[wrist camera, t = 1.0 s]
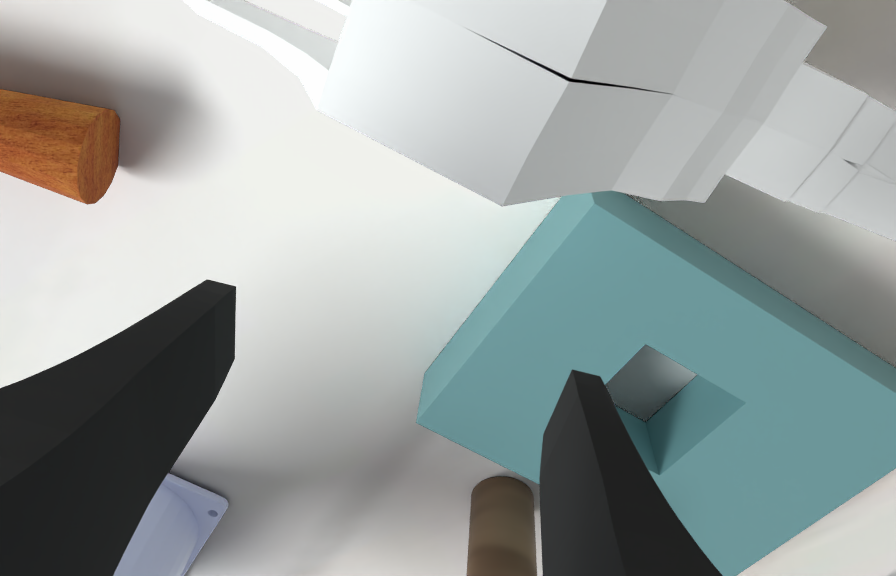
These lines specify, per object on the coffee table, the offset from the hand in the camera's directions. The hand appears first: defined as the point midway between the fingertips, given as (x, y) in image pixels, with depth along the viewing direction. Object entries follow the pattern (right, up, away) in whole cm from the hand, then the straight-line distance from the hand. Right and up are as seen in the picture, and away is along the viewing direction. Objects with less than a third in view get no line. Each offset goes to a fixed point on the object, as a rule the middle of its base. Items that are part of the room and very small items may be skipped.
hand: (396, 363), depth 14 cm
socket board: (+10, -2, +13) cm, 16 cm away
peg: (+4, -9, +17) cm, 20 cm away
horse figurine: (+6, +10, +6) cm, 13 cm away
